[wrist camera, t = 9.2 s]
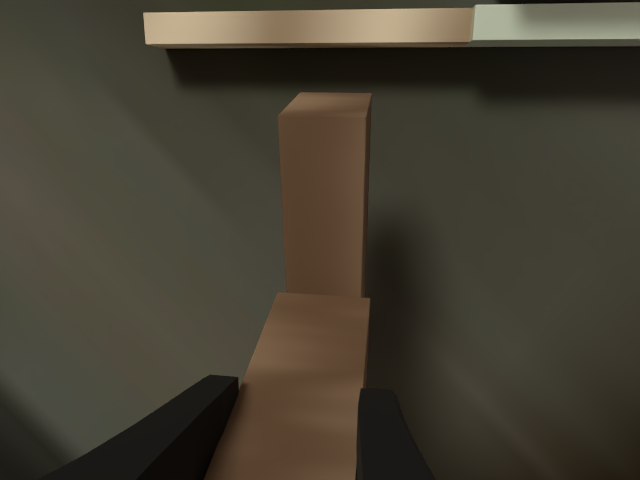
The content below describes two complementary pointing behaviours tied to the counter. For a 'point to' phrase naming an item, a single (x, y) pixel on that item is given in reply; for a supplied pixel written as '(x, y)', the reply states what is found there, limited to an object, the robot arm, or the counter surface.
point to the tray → (555, 25)
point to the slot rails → (310, 28)
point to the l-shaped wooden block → (311, 306)
